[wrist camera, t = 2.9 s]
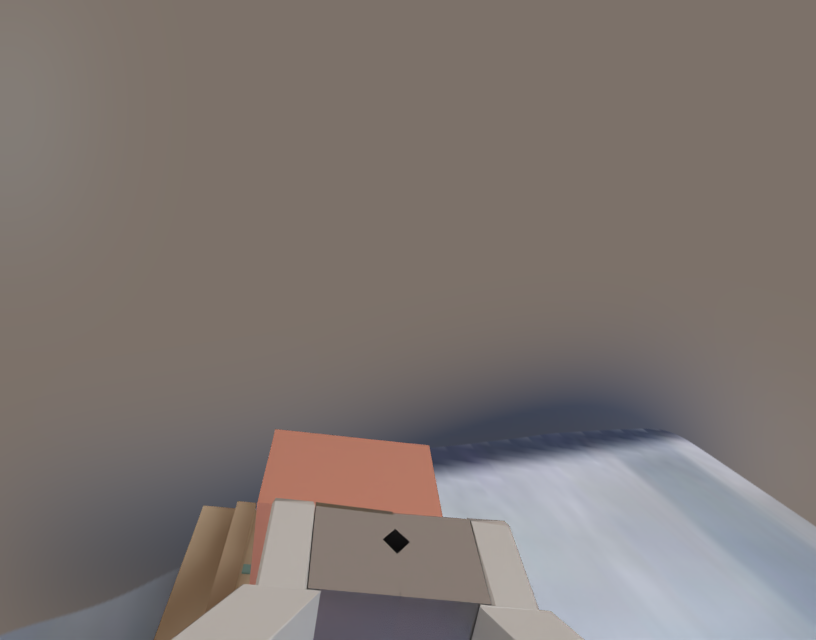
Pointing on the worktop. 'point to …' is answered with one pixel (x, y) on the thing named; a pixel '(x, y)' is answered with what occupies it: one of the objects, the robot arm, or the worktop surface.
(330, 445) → the salmon orange rectangular block
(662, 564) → the worktop surface
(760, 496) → the worktop surface
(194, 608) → the tan flat ridged board
